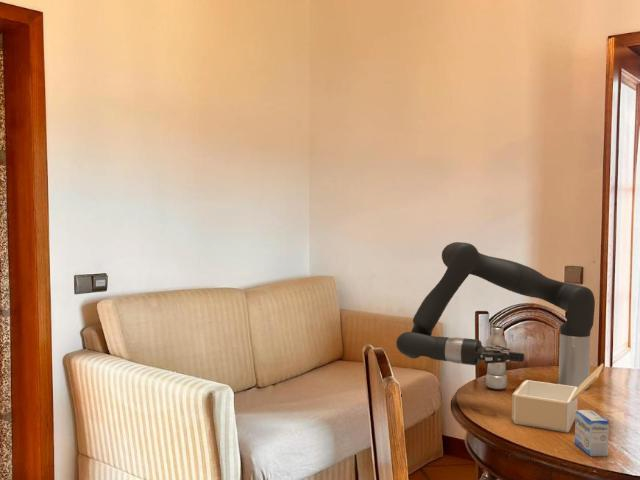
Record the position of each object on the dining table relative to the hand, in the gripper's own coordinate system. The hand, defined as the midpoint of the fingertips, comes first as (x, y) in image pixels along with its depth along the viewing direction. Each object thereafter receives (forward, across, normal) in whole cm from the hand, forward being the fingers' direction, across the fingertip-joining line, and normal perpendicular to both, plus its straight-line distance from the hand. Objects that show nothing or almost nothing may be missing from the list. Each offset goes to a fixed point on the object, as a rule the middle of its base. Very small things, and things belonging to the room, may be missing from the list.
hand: (523, 357), depth 177 cm
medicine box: (+20, -18, +17) cm, 31 cm away
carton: (+6, 0, +16) cm, 18 cm away
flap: (+17, 0, +4) cm, 17 cm away
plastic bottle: (-13, +22, +17) cm, 30 cm away
